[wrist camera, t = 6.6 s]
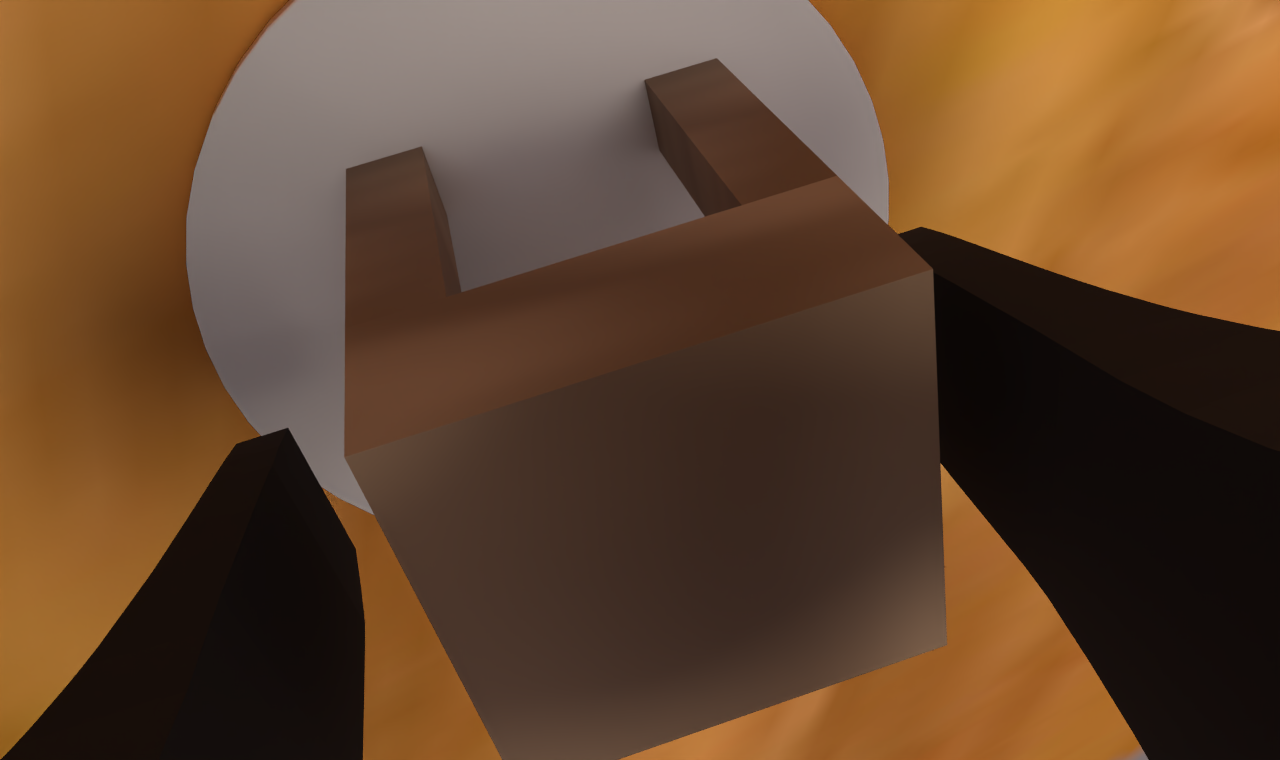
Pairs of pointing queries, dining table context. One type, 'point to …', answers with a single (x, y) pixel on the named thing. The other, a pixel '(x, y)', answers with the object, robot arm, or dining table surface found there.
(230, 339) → the plate
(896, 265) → the stool
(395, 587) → the dining table surface
